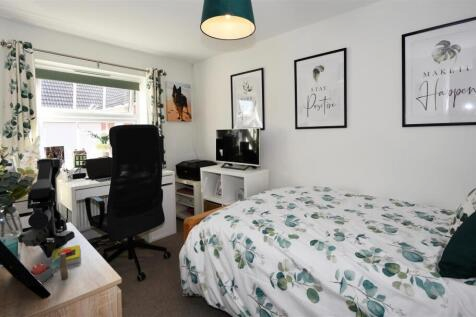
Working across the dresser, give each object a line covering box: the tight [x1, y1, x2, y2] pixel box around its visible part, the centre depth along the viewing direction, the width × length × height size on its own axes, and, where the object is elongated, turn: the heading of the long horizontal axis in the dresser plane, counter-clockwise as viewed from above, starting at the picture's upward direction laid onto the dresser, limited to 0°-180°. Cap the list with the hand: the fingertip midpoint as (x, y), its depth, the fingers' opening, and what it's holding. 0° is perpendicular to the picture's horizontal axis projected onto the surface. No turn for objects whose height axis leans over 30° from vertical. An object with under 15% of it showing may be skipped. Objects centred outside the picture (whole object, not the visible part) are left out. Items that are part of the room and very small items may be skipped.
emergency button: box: [51, 244, 82, 272], centre depth 103 cm, size 9×4×15 cm
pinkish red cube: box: [31, 263, 47, 275], centre depth 89 cm, size 4×4×4 cm
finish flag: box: [51, 253, 69, 281], centre depth 88 cm, size 5×2×9 cm, turn 176°
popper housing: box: [30, 265, 55, 285], centre depth 89 cm, size 5×5×4 cm
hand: (49, 257), depth 102 cm, fingers closed
